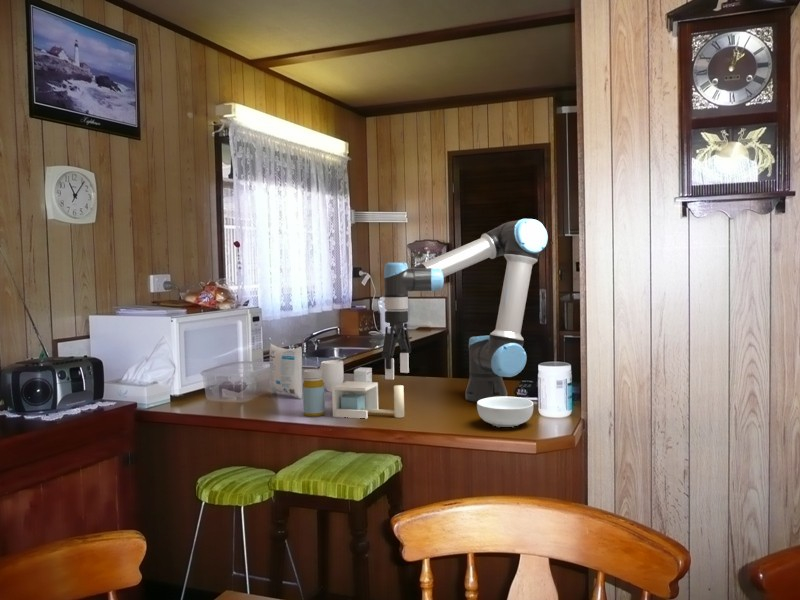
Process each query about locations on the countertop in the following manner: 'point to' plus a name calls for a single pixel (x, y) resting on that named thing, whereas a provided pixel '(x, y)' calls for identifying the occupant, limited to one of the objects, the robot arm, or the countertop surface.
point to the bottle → (313, 393)
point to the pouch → (286, 370)
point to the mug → (332, 373)
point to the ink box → (363, 375)
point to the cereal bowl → (505, 410)
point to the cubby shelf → (355, 388)
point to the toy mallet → (359, 404)
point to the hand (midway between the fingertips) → (397, 375)
